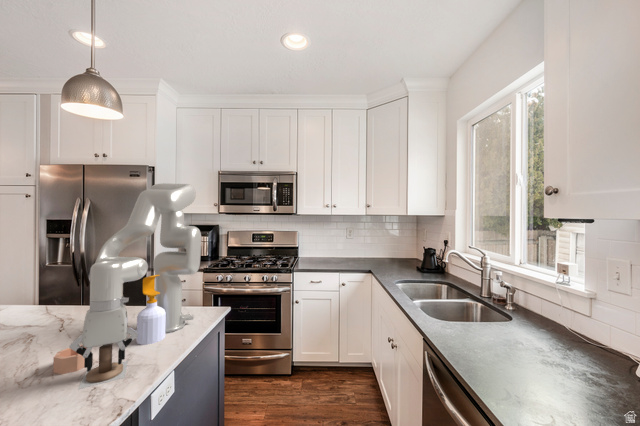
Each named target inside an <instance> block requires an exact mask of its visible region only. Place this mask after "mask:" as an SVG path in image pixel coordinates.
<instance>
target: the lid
mask: <svg viewBox="0 0 640 426" xmlns="http://www.w3.org/2000/svg"><path fill="white" fill-rule="evenodd" d="M91 369H92V370H90V371H89V372H88V373H87V375H86V381H87V382H89V383H98V382H103V381H107V380H109V379H112V378H114V377H116V376H117V375H119V374H120V373H121V372H122V371H123V364H122V363H121V364H118V361H117V362H113V343H111V344H106V345H101V346H98V366H96V367H94V368H91Z"/></svg>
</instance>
